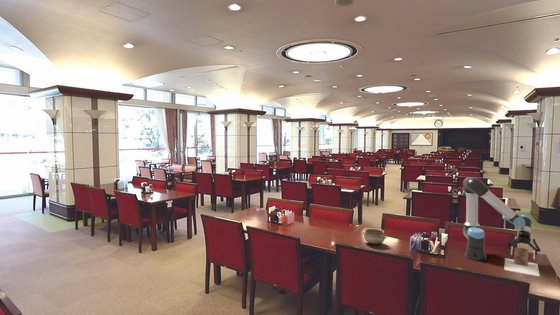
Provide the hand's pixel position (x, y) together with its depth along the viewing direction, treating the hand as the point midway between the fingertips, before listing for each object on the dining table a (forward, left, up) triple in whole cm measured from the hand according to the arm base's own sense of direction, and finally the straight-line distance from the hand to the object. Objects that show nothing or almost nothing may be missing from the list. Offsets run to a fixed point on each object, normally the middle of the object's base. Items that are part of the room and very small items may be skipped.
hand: (522, 256), depth 236 cm
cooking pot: (-84, +72, -7) cm, 111 cm away
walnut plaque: (0, +1, -6) cm, 6 cm away
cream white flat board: (-5, -3, -7) cm, 9 cm away
